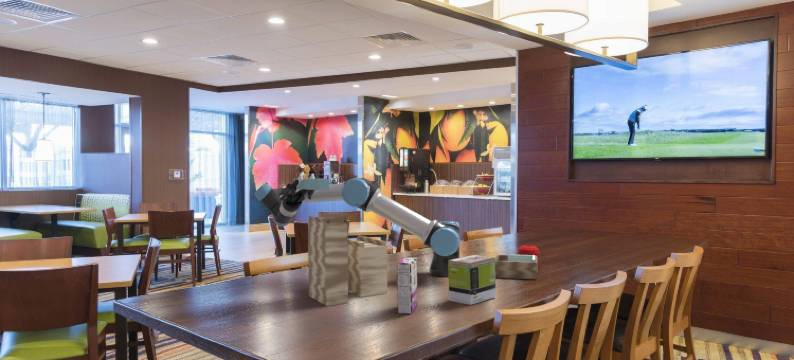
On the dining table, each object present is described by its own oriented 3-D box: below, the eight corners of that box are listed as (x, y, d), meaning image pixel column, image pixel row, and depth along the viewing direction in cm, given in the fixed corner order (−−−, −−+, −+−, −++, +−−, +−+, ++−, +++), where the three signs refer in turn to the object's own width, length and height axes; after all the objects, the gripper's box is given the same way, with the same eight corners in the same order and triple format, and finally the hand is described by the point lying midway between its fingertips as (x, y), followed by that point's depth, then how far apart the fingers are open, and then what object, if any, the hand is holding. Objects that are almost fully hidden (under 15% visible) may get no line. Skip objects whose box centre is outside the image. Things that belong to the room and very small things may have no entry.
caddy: (537, 271, 242) (537, 255, 241) (537, 279, 224) (537, 262, 224) (496, 269, 246) (496, 254, 246) (493, 277, 229) (493, 261, 229)
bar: (329, 190, 195) (329, 178, 195) (318, 190, 193) (318, 179, 193) (303, 188, 218) (303, 178, 218) (293, 188, 216) (293, 178, 216)
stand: (348, 302, 186) (347, 213, 186) (326, 306, 182) (325, 214, 182) (329, 293, 201) (328, 210, 200) (308, 296, 197) (308, 211, 196)
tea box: (474, 293, 199) (473, 254, 199) (496, 298, 192) (496, 257, 192) (447, 300, 189) (447, 258, 188) (470, 305, 181) (470, 262, 181)
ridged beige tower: (387, 293, 200) (386, 241, 200) (360, 297, 195) (360, 243, 194) (361, 283, 219) (360, 235, 219) (336, 286, 214) (335, 237, 213)
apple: (518, 268, 249) (518, 245, 249) (517, 264, 259) (517, 242, 259) (540, 269, 248) (540, 245, 247) (538, 265, 257) (538, 242, 257)
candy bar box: (403, 305, 183) (403, 257, 183) (417, 305, 182) (417, 257, 182) (396, 313, 172) (396, 262, 172) (412, 314, 171) (411, 263, 171)
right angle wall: (507, 270, 244) (507, 254, 244) (535, 272, 241) (535, 255, 241) (506, 275, 232) (506, 258, 232) (534, 277, 229) (534, 259, 229)
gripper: (311, 211, 228) (330, 184, 210) (272, 213, 219) (288, 185, 202) (308, 195, 231) (326, 168, 213) (269, 197, 223) (284, 168, 205)
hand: (307, 176), depth 208 cm, fingers closed on bar, 4 cm apart
